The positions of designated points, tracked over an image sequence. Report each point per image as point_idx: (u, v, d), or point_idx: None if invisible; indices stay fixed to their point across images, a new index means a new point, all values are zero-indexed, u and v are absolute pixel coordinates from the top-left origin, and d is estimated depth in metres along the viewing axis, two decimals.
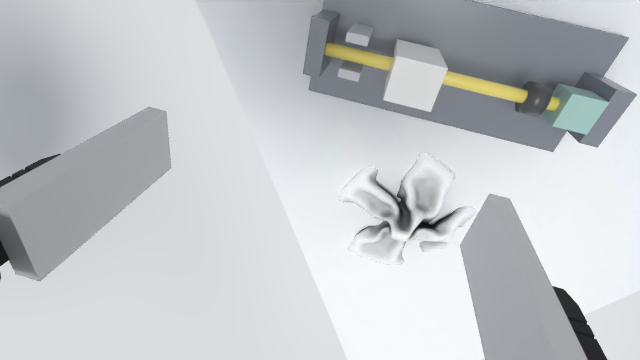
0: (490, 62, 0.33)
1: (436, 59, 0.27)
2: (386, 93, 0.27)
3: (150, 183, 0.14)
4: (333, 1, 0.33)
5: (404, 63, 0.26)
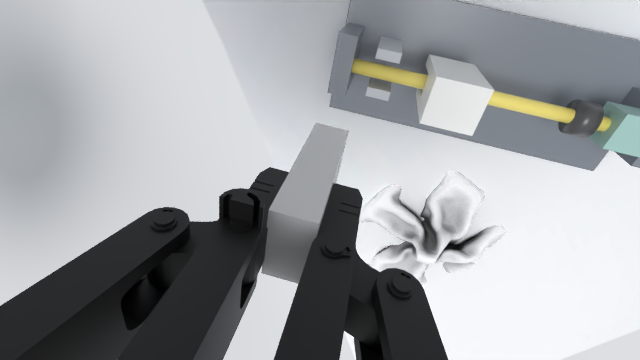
0: (528, 77, 0.31)
1: (478, 78, 0.25)
2: (423, 116, 0.25)
3: None
4: (358, 13, 0.31)
5: (445, 84, 0.23)
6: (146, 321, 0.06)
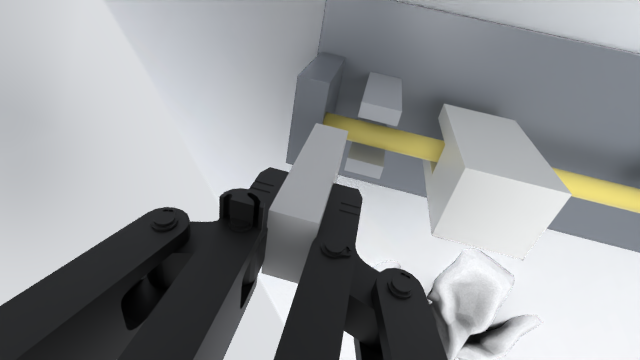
0: (593, 134, 0.20)
1: (533, 160, 0.14)
2: (439, 226, 0.14)
3: None
4: (335, 38, 0.20)
5: (480, 180, 0.13)
6: (146, 321, 0.06)
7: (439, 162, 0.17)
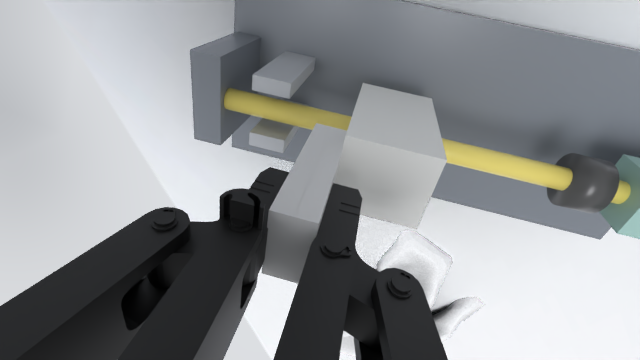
0: (503, 110, 0.21)
1: (425, 131, 0.15)
2: None
3: None
4: (249, 18, 0.21)
5: (361, 148, 0.13)
6: (146, 321, 0.06)
7: None
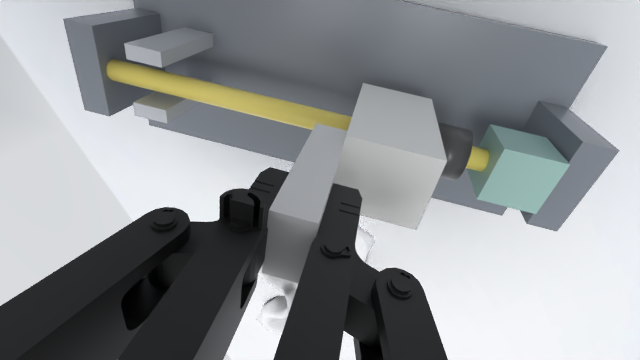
0: (393, 85, 0.21)
1: (425, 132, 0.15)
2: None
3: None
4: None
5: (362, 149, 0.13)
6: (146, 321, 0.06)
7: None
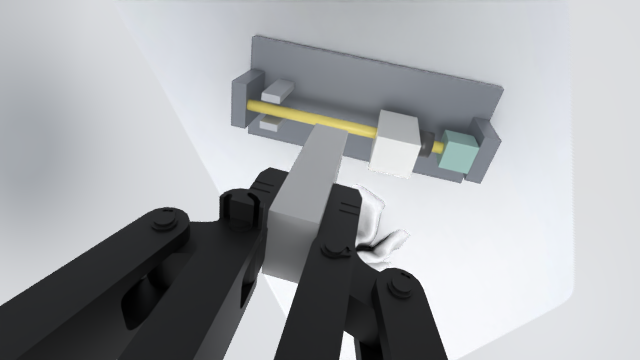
0: (395, 109, 0.39)
1: (412, 134, 0.32)
2: (370, 164, 0.32)
3: None
4: (258, 62, 0.39)
5: (384, 141, 0.30)
6: (146, 321, 0.06)
7: (375, 137, 0.34)
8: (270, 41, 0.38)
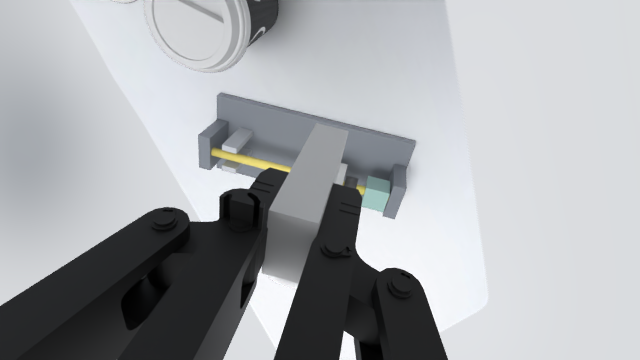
0: None
1: (337, 183, 0.41)
2: None
3: None
4: (223, 114, 0.48)
5: None
6: (146, 321, 0.06)
7: None
8: (231, 99, 0.46)
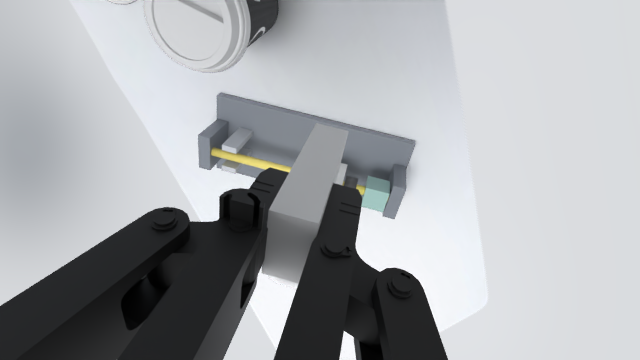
0: None
1: (336, 183, 0.41)
2: None
3: None
4: (223, 114, 0.48)
5: None
6: (146, 321, 0.06)
7: None
8: (231, 99, 0.46)
